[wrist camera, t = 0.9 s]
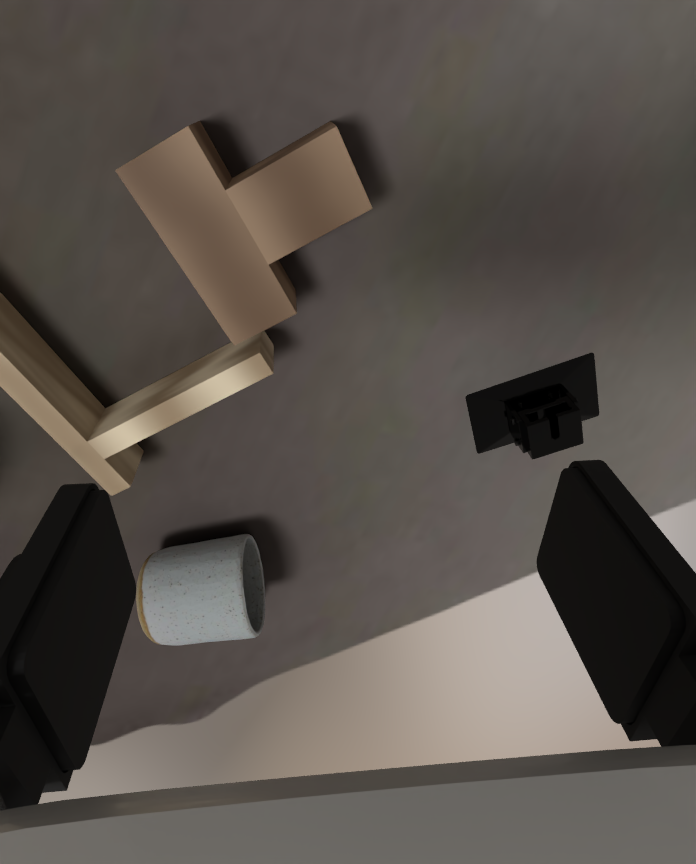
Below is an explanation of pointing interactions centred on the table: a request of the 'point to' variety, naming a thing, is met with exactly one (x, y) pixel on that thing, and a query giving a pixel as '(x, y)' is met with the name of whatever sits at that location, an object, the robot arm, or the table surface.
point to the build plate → (537, 409)
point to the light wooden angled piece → (128, 418)
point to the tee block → (244, 217)
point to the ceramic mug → (202, 592)
